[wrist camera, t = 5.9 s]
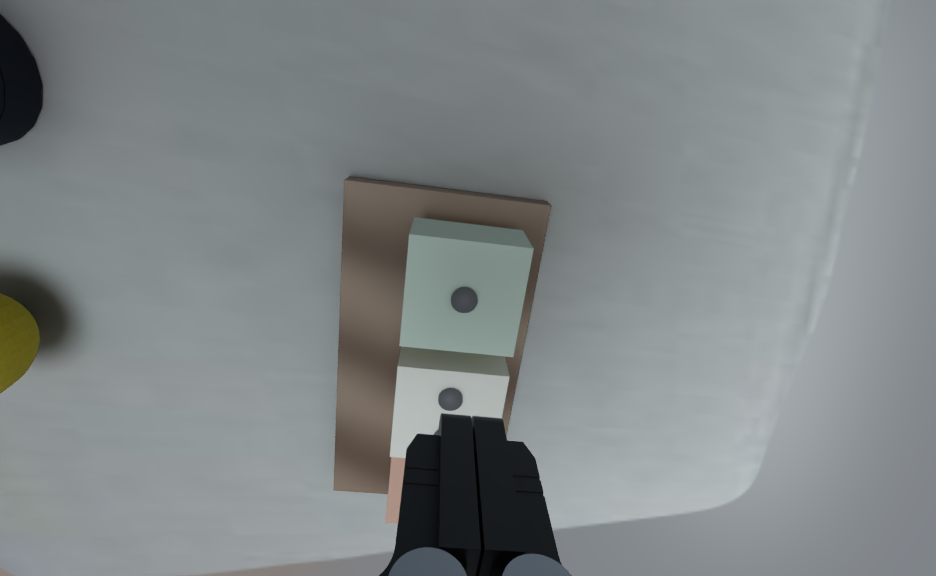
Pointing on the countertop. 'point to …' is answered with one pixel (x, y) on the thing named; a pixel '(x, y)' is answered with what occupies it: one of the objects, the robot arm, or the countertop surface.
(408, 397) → the key two
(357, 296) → the board
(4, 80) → the wine bottle
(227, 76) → the countertop surface
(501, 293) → the key one
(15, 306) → the lemon
